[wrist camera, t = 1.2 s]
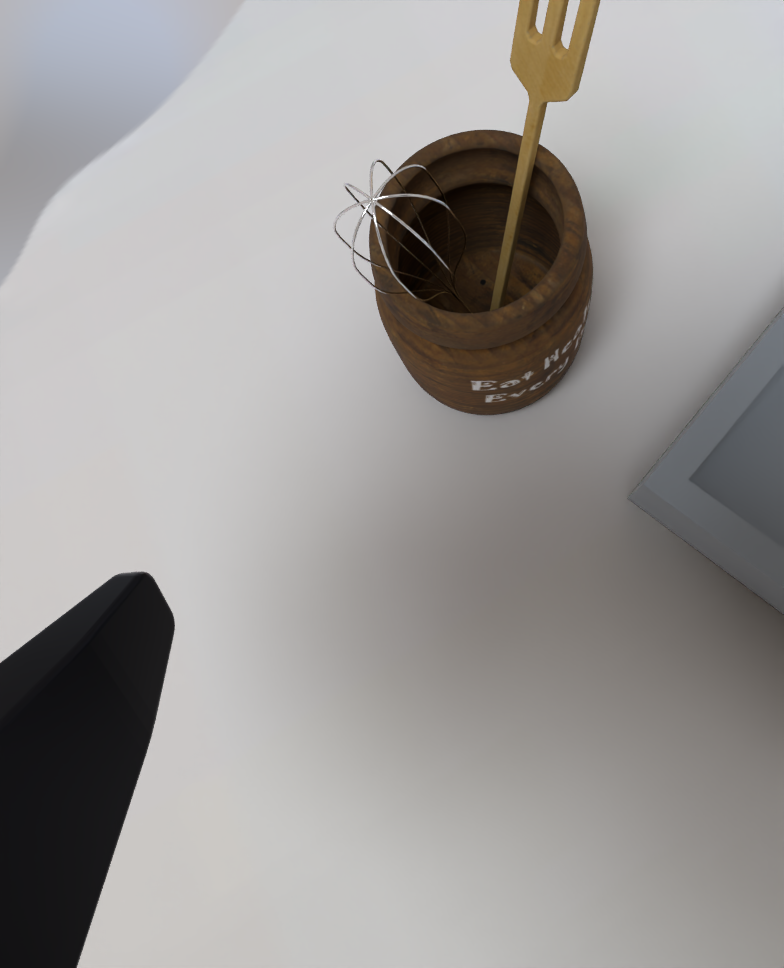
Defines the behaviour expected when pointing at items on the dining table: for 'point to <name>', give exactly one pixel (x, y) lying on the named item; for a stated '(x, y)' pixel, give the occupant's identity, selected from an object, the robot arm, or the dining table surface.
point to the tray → (731, 473)
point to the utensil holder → (489, 243)
